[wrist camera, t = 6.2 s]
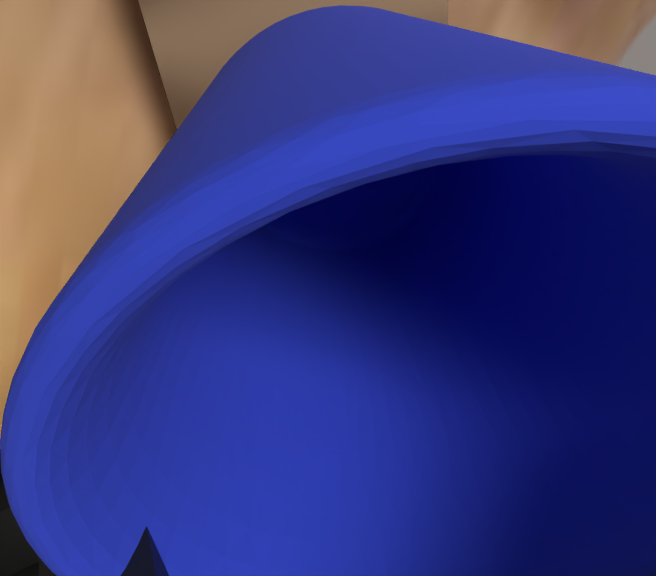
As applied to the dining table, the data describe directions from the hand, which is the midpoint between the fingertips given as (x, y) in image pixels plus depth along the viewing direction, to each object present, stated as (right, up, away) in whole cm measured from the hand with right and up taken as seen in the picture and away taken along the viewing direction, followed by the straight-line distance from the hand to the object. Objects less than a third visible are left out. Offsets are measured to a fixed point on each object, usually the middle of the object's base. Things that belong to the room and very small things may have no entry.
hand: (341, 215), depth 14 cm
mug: (-1, 0, 0) cm, 1 cm away
